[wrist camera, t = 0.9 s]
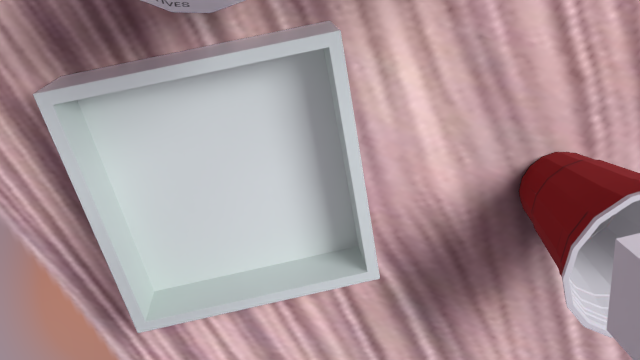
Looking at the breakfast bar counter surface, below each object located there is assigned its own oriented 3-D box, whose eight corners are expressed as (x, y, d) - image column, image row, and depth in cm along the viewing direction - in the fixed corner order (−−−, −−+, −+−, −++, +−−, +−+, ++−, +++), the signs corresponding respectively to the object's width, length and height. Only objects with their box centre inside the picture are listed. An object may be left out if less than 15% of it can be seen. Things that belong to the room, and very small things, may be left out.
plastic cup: (484, 132, 37) (579, 205, 26) (623, 108, 38) (771, 171, 27) (483, 253, 42) (564, 359, 31) (607, 231, 43) (728, 326, 32)
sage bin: (60, 76, 32) (32, 94, 28) (329, 20, 33) (340, 30, 29) (149, 293, 40) (137, 333, 36) (367, 245, 40) (380, 278, 36)
